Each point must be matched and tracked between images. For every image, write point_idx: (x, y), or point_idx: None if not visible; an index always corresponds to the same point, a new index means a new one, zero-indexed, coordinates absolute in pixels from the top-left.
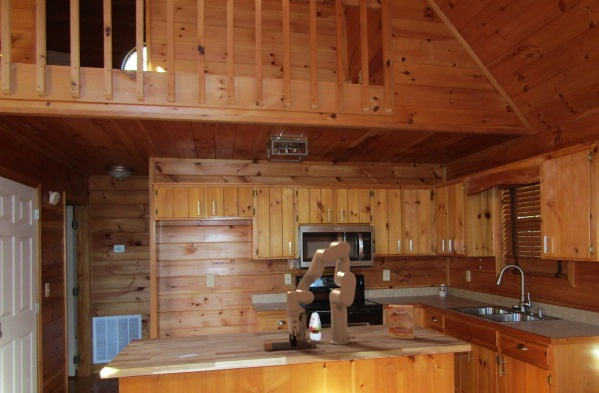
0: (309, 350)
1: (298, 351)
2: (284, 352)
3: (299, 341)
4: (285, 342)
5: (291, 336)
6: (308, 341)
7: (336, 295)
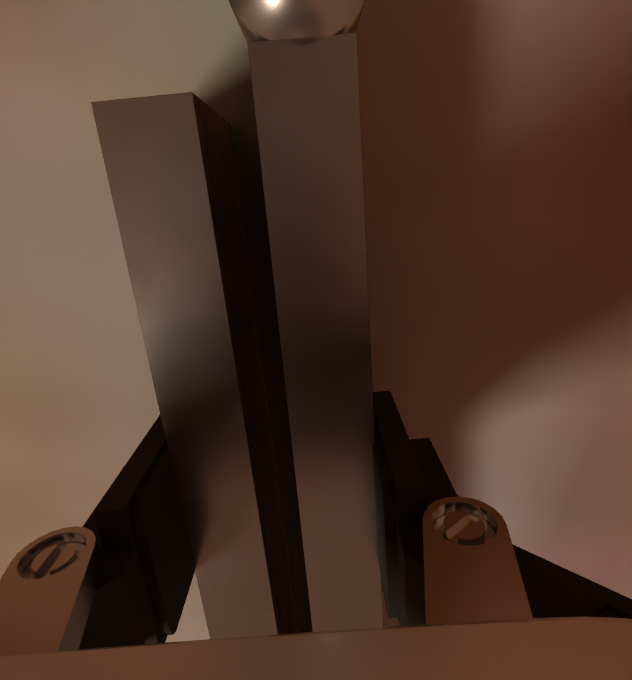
0: (587, 99)
1: (582, 359)
2: None
3: (332, 354)
4: None
5: (126, 642)
6: (346, 26)
7: None
